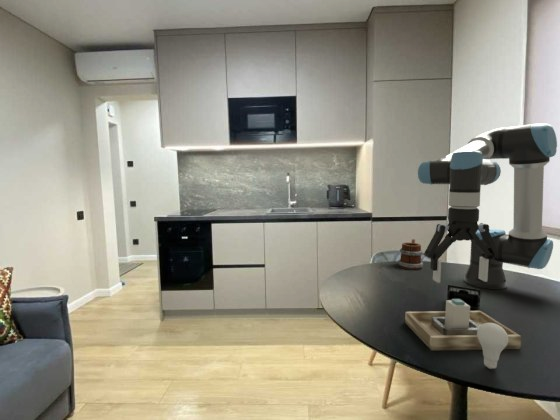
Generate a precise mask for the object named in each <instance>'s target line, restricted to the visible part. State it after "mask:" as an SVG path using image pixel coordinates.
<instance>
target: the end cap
mask: <svg viewBox="0 0 560 420" xmlns="http://www.w3.org/2000/svg"><path fill="white" fill-rule="evenodd" d="M481 291H482V290H481V289H479V288H473V287H467V286H462V285H461V286H460V285H453V284H448V285H447V297H446V300H452V299H461V300H462V301H464V302H465V303H466V304H468V305H469V306H470V311H479V307H481V306H480V303H481Z"/></svg>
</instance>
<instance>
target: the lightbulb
mask: <svg viewBox="0 0 560 420" xmlns="http://www.w3.org/2000/svg"><path fill="white" fill-rule="evenodd" d="M477 337H478V340H479V342H480V344H481V346H482V349H483V350H482V355H483V364H484V366H485V367H487V368H488V369H489V370H493V369H497V367H498V361H499V359H500V356H501V353H502V351H503V350H505V349H504V348H505V347H506V346H507V344H508V335H507V333H506V331H505V330H504V329H503V328H502V327H501V326H499V325H497V324H495V323H484V324H482V325H481V326H480V327H479V328H478V330H477Z"/></svg>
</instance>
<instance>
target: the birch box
mask: <svg viewBox="0 0 560 420" xmlns="http://www.w3.org/2000/svg"><path fill="white" fill-rule="evenodd" d="M445 312H446V310H441V311H439V310H438V311H437V310H436V311H435V310H434V311H433V310H429V311H405V314H404V315H405V317H404V323H405V324H406V325H407V327H408V328H410V329H411V330H412V331H413V333H414V334H415V335H416V336H417V337H418V338H419V339H420V340H421V341H422V342H423V343H424V345H426V347H428V349H430V351H472V350H474V351H475V350H477V351H478V350H479V351H481V350H482V351H483V349H482V346H481V344H480V342H479V340H478V337H477V335H450V336H445V335H442V334H441V333H440V332H439V331H438V330H436V329H435V328H434V327H433V326H432V323H431V322H432V317H445ZM469 318H470V319H471V320H472V321H474V322H475V323H477V324H478V325H480V326H481V325H482V324H484V323H495V324H497V325H499V326H501V327H502V328H503V329H504V330H505V331H506V333H507V335H508V344H507V346H506V347H505V348H504V349H503V350H521V347H522V335H520V334H518V333H517V332H515V331H514V330H513V329H511V328H509V327H508V326H506V325H504V324H503V323H501V322H500V321H498V320H497V319H494V318H493V317H492V316H489V315H488V314H487V313H485V312H483V310H478V311H470V317H469ZM444 326H445V325H444Z"/></svg>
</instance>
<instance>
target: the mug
mask: <svg viewBox="0 0 560 420" xmlns="http://www.w3.org/2000/svg"><path fill="white" fill-rule="evenodd" d="M399 253H400V259H399V260H398V261H397V262H398V266H399V267H400V268H402V269H404V270H409V271H418V270H421V269H423V266H424V263H423V261H422V255H423V253H424V252H423V250H422V245H421V244H420V243H416V239H415V238H413V239H411V242H403V243H402V244H401V248H400V249H399Z"/></svg>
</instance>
